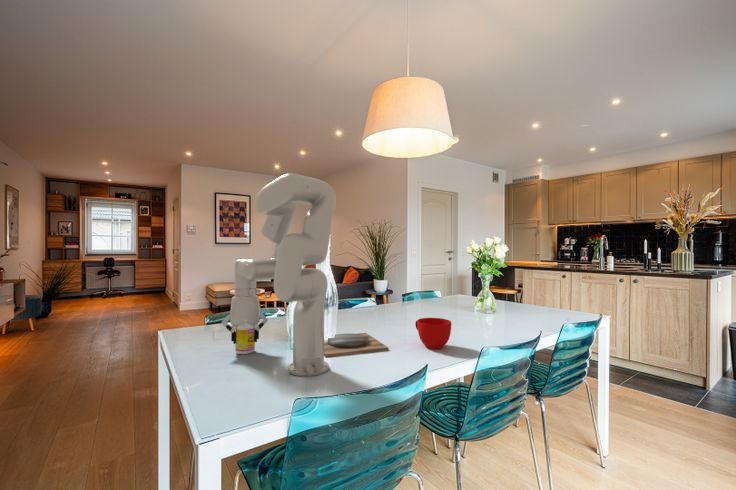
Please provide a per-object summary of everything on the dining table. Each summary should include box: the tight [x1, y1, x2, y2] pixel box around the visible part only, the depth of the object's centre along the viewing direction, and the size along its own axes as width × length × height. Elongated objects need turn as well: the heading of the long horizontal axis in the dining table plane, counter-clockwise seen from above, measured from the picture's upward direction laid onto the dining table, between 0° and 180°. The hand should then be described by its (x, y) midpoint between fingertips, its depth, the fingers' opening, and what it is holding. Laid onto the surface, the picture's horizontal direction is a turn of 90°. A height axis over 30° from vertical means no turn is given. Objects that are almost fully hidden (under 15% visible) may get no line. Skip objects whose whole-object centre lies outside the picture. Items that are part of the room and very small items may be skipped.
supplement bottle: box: [234, 319, 256, 355], centre depth 127 cm, size 7×7×13 cm
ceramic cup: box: [414, 317, 452, 350], centre depth 136 cm, size 13×17×10 cm
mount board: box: [324, 332, 390, 358], centre depth 137 cm, size 24×24×2 cm
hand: (245, 341), depth 127 cm, fingers closed on supplement bottle, 6 cm apart
